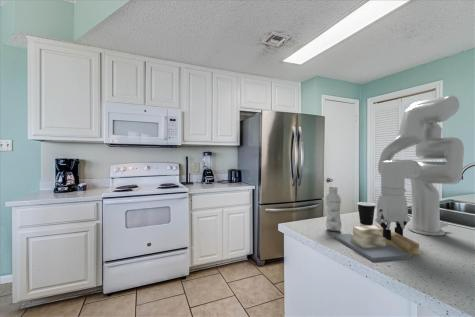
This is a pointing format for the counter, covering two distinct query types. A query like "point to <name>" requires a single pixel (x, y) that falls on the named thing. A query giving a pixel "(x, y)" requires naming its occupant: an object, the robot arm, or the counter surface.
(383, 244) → the stepped block
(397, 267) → the counter surface
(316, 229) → the counter surface
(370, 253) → the slate board
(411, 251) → the oak bar
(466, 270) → the counter surface
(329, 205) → the plastic bottle
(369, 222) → the dixie cup
